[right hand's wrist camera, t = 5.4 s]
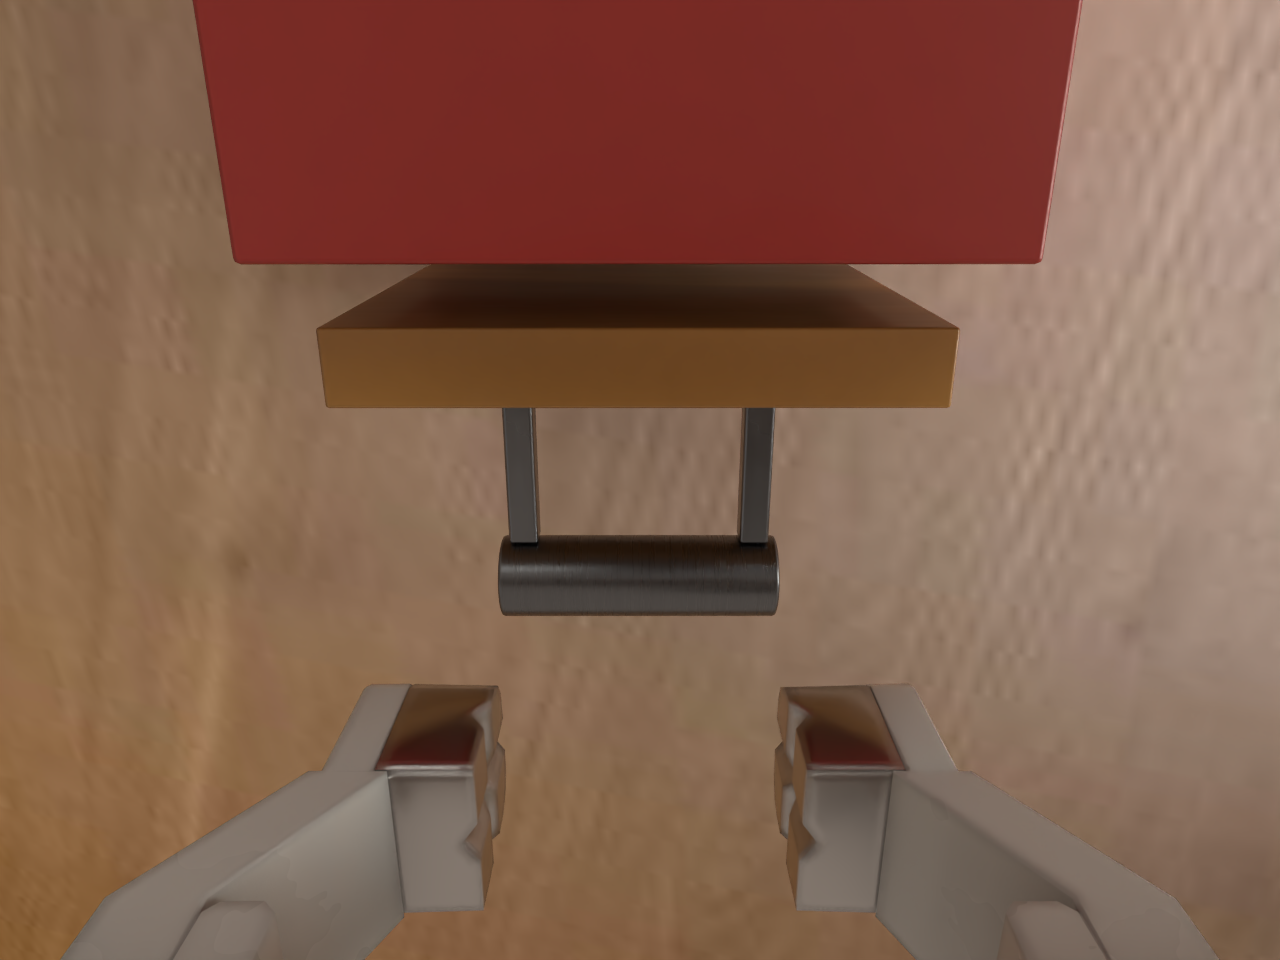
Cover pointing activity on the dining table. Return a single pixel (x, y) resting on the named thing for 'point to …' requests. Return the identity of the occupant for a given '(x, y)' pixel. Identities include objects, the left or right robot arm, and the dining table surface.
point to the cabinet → (637, 129)
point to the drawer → (638, 395)
